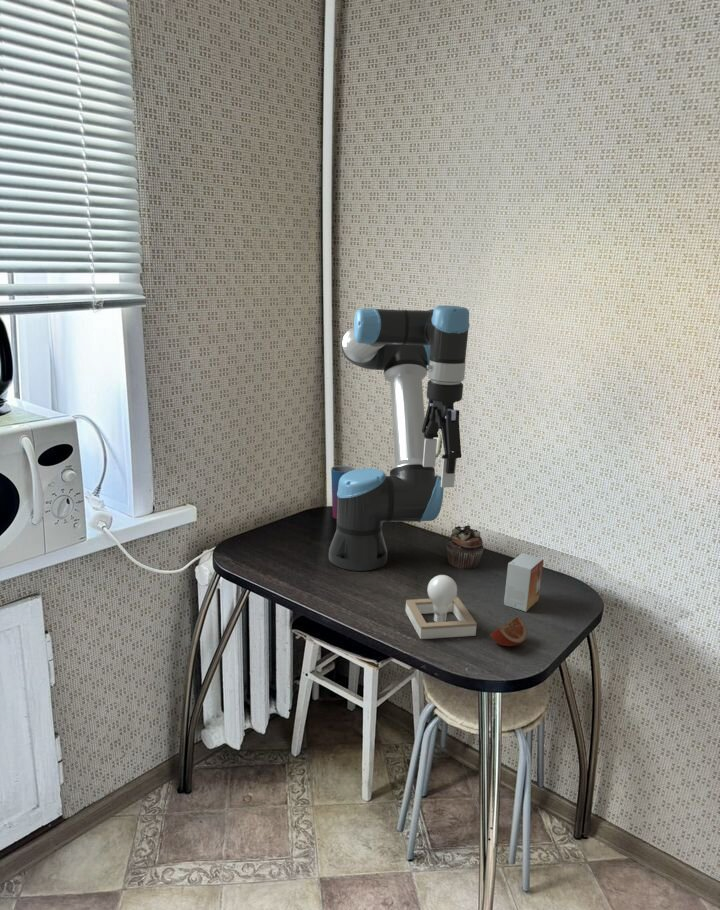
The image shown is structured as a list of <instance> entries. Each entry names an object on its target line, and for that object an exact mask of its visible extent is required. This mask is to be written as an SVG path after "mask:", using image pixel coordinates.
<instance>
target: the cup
mask: <svg viewBox="0 0 720 910" xmlns="http://www.w3.org/2000/svg"><path fill="white" fill-rule="evenodd" d="M330 470H331V471H330V472H331V477H330V478H331V506H332V507H331V510H332V518H333V519H336V520H337V507H338V496H337V492H338V485H339V480H340V478H341V476H342V475H344V474H345V473H347V472H349V471H352V470H355V468H354V467H353V466H349V465H334V466H332V467H331V469H330Z"/></svg>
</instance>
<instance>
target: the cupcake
mask: <svg viewBox="0 0 720 910" xmlns="http://www.w3.org/2000/svg"><path fill="white" fill-rule="evenodd" d="M483 542H484V541H483V538H482V537H481V531H480V530H478V529H473V528H471V525H469V524H468V525H465V526H460V525H459V526H455V527H454V528H452V529H451V534H450V536H449V540H447V541H446V543H445V545H446V551H447V562H448V564H449V565H451V566H453V567H455V568H457V569H460V570H461V569H462V570H463V569H464V570H467V569H468V570H471V569H475V568H477V567H478V566H479V564H480V561H481V557H482V555H483V551H484V543H483Z"/></svg>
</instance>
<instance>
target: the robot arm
mask: <svg viewBox="0 0 720 910" xmlns="http://www.w3.org/2000/svg"><path fill="white" fill-rule="evenodd" d="M469 330H470V310H469V309H468V308H467V307H465V306H458V305H447V304H446V305H444V304H443V305H437V306H435V307H434V309H433V308H432V309H428V310H412V309H411V310H410V309H385V308H384V309H383V308H374V307H371V308H359V309H358V310H356V311H355V315H354V321H353V327H351V328H349V330H347V331H346V332H345V333H344V335H343V337H342V339H341V344H340V345H341V346H340V347H341V351H342V354H343V356H344V357H345V358H346V360H348V362H349V363H351V364H352V365H355V366H357V367H360V368H362V369H367V370H373V371H383V374H384V379H385V380H386V381H387V382H389V383H390V399H391V414H392V419H391V420H392V432H393V450H394V465H393V466H392V467H391V469H389V475H386V473H385V471H384V470H382V469H379V468H372V467H371V468H367V467H366V468H357V469H354V470H352V471H349V472H347V473H345V474H344V475H342V476H341V478H340V480H339V485H338V492H337V496H338V507H337V519H336V530H335V533H334V535H333V537H332V541H331V542H330V546H329V549H328V560H329V562H330V563H331V564H332V565H334V566H336V567H338V568H341V569H344V570H348V571H356V572H358V571H359V572H360V571H361V572H362V571H371V570H372V571H373V570H376V569H380V568H382V567H383V566H385V565H386V564H387V562H388V549H387V546H386V542H385V538H384V535H383V523H386V522H387V523H393V522H394V523H397V522H398V523H401V522H402V523H403V522H405V523H409V522H410V523H411V522H412V523H413V522H417V523H421V522H432V521H435V520H436V519H437V518H438V517H439V515H440V512H441V509H442V505H443V500H444V491H445V490H444V489H445V488H455V481H456V480H455V479H456V478H455V477H456V469H457V468H456V467H457V459H461V458H462V448H461V446H462V445H461V431H460V410H459V409H454V407H455V406H454V404H455V403H456V402H457V403H458V402H461V401H462V398H463V392H464V391H463V390H464V384H463V381H464V380H465V374H466V358H467V357H466V356H467V347H468V340H469V339H468V338H469ZM427 375H428V376H427ZM426 376H427V377H428V378H429V380H428V381H427V385H426V386H427V388H426V398H427V399H428V404H427V407H426V408H427V409H426V411H425V404H424V403H425V402H424V389H423V388H424V387H423V380H424V379H425V378H426ZM425 412H426V414H425ZM439 430H440V432H441V437H442V445H443V452H444V454H442V456H441V459H442V463H441V465H442V467H441V476H439V475H436V471H435V467H436V457H437V449H438V448H437V445H438V439H437V438H439Z"/></svg>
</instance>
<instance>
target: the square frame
mask: <svg viewBox="0 0 720 910" xmlns="http://www.w3.org/2000/svg"><path fill="white" fill-rule="evenodd" d="M405 613H406V616H407V617H408V618H409V620H410V622H411V624H412V626H413V628H414V631H416V634H417V635H418V637H419V639H420V640H426V639H428V640H429V639H443V638H457V637H472V636H476V634H477V627H478V626H477V624H478V623H477V622H476V621H475V618H474V617H473V616H472V614H471V613H470V611H468V609H467V608H466V606H465V604H463V602H462V600H461V599H460V598H459V597H458V596H456V598H455V599H454V601H453V602H452V603H451V604H450V606H449V609H448V611H447V613H453V614H454V615H453V616H455V617H456V619H457V620H455V621H452V620H451V621H449V620H448V621H446V622H435V621H434V622H427V621H426V620H425V618H424V617H423V615H424V614H434V608H433V603H432V601H431V599H430V598H417V599H415V598H414V599H413V598H412V599H406V600H405ZM422 614H423V615H422Z"/></svg>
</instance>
